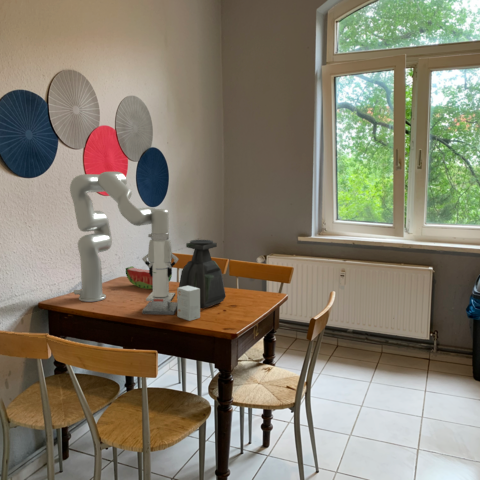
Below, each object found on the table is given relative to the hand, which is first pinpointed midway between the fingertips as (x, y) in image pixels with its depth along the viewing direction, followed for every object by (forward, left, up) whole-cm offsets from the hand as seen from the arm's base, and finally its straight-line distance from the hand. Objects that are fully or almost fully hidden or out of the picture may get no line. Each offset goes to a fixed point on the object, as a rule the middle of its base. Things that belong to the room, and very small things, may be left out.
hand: (160, 275), depth 205 cm
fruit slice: (-15, +38, -16) cm, 44 cm away
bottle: (+17, +11, -16) cm, 26 cm away
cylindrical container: (0, 0, -9) cm, 9 cm away
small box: (+14, -10, -16) cm, 24 cm away
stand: (0, 0, -16) cm, 16 cm away
